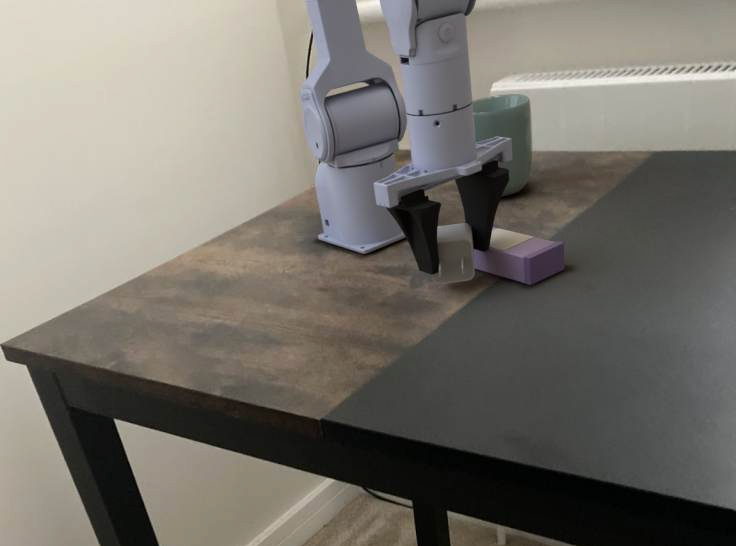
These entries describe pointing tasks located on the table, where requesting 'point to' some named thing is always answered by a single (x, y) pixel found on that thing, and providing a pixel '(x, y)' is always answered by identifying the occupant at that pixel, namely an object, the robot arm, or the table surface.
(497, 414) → the table surface
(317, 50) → the robot arm
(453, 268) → the usb wall charger
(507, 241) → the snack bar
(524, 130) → the cup
